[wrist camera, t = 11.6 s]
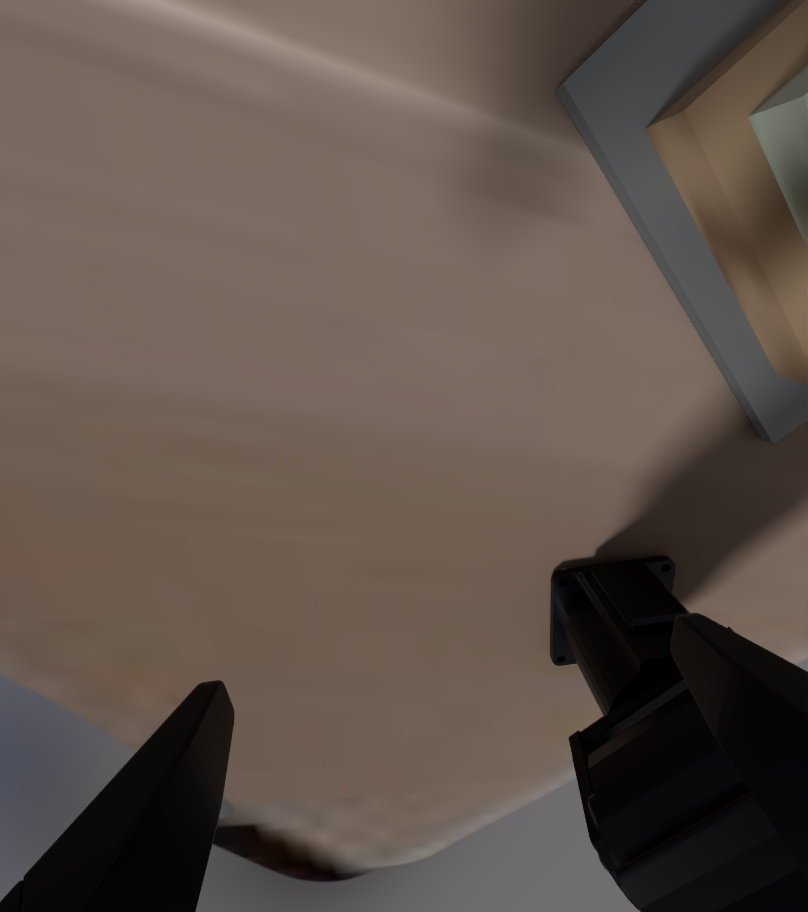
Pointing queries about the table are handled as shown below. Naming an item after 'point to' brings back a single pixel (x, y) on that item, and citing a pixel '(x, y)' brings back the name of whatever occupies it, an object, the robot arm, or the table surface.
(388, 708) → the table surface
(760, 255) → the stacked blocks
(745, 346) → the baseplate
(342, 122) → the table surface
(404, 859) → the table surface
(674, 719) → the robot arm
